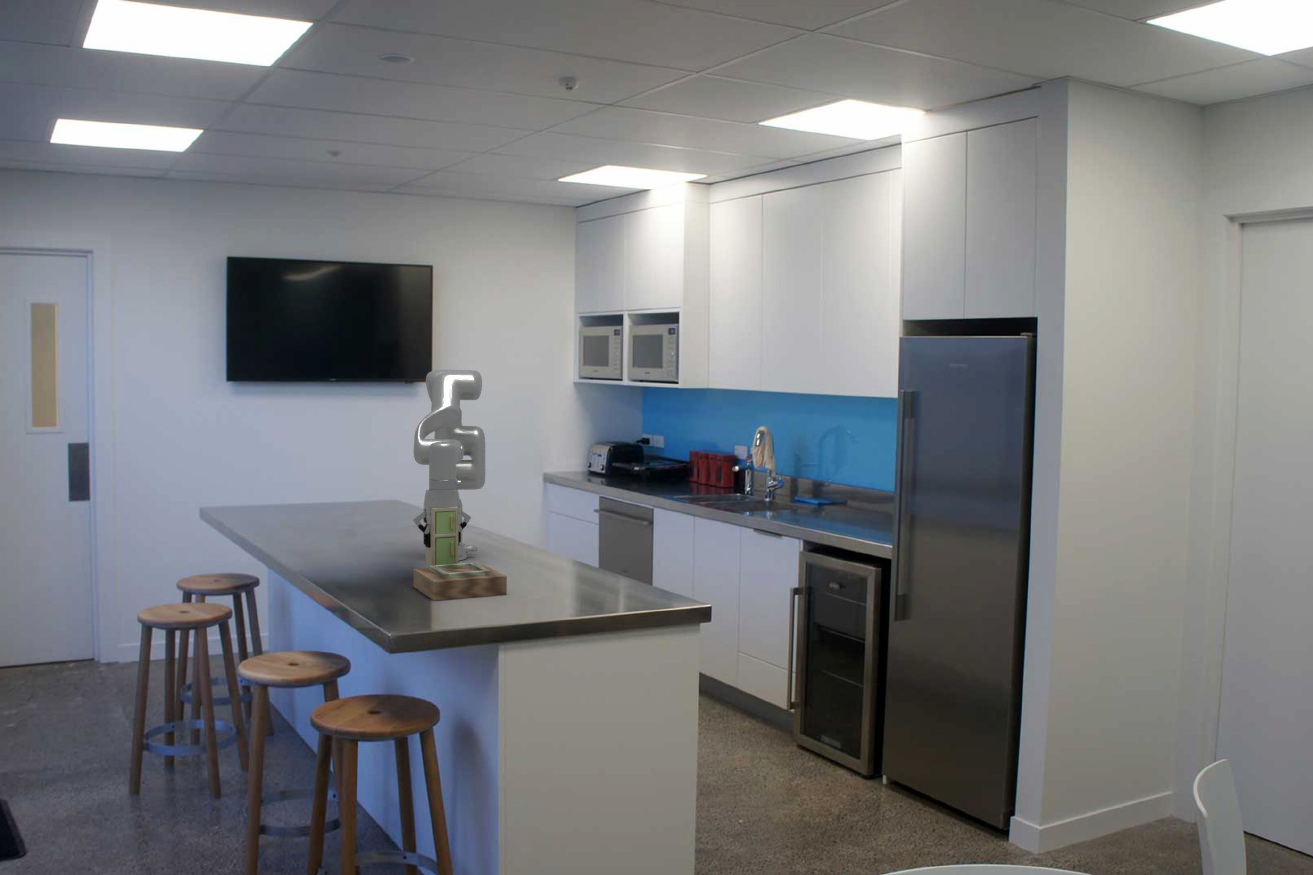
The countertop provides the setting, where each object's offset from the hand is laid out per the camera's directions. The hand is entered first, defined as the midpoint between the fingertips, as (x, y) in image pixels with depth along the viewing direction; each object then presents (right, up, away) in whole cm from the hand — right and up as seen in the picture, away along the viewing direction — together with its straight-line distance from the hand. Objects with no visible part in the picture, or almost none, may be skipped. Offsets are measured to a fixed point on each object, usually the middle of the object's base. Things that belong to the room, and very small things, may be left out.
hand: (442, 545), depth 320 cm
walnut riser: (+7, -11, -14) cm, 19 cm away
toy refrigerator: (0, -10, +1) cm, 10 cm away
